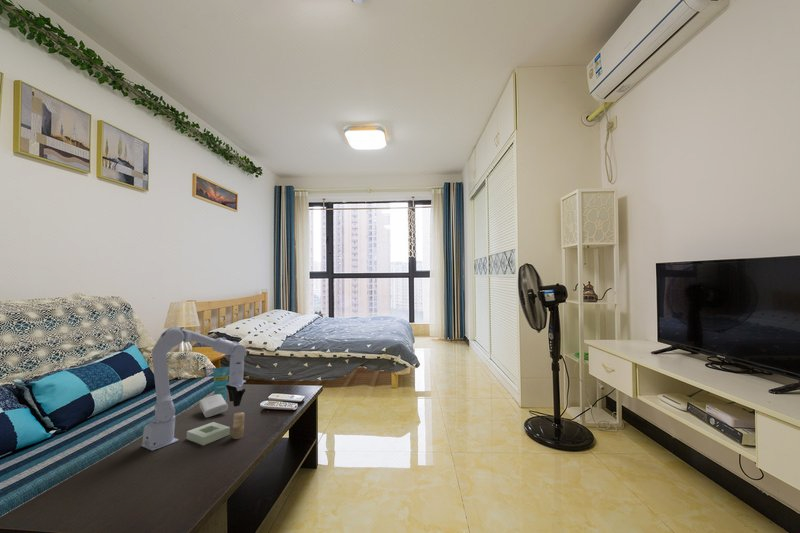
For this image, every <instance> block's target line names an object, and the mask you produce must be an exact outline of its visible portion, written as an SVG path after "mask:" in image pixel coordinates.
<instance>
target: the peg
mask: <svg viewBox="0 0 800 533" xmlns="http://www.w3.org/2000/svg"><path fill="white" fill-rule="evenodd" d="M232 422H233V423H232V439H234V440H238V439H239V440H240V439H241V438H243V437H244V429H245V412H235V413H234V414H233V421H232Z"/></svg>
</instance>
